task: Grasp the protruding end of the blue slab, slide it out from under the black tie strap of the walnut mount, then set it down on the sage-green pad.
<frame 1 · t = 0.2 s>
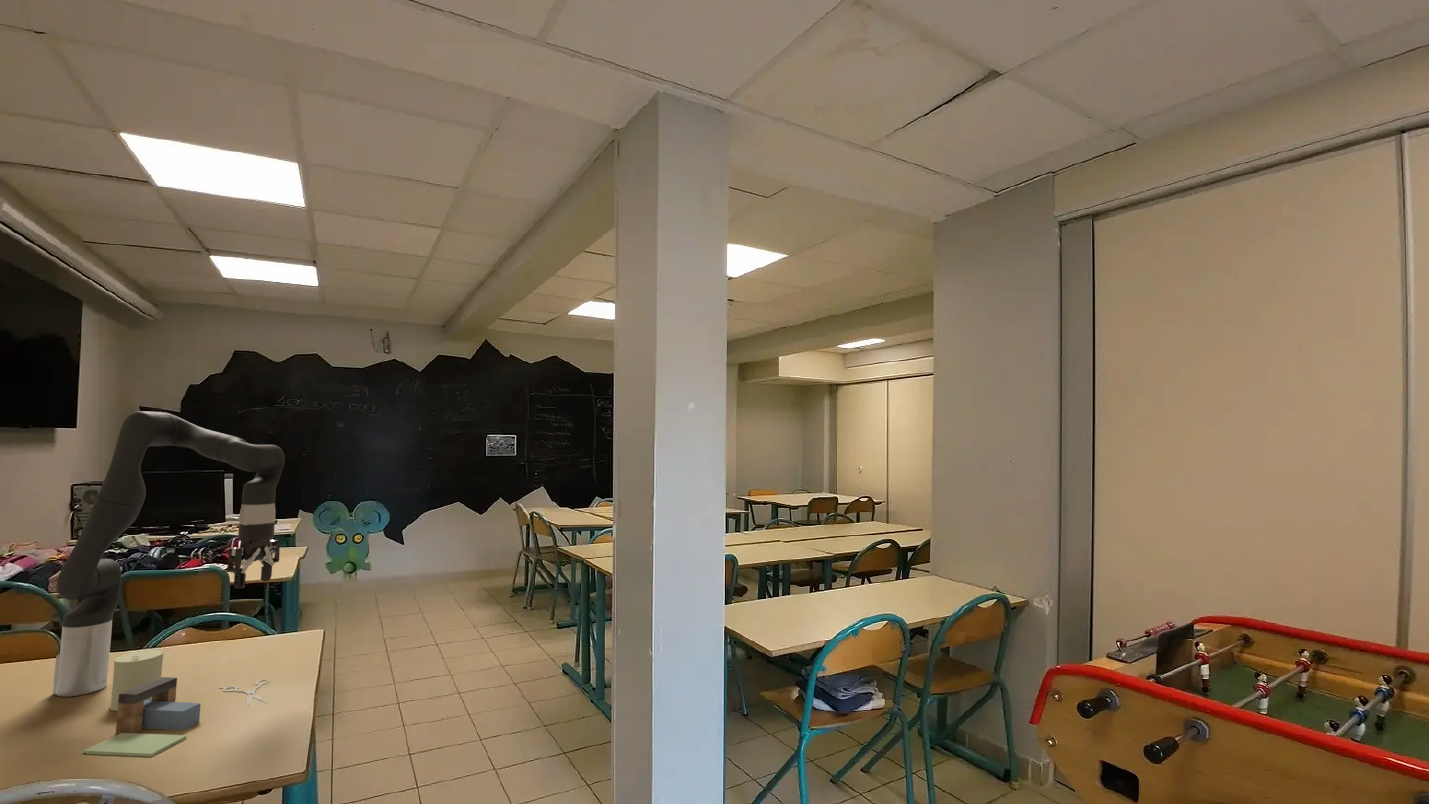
hand: (252, 584, 159), 29 cm above the table, tool pointing down, fingers open, 8 cm apart
scissors: (249, 696, 159), on the table
pad: (136, 745, 132), on the table
tie mount: (146, 723, 142), on the table
blue slab: (162, 725, 142), on the table
can: (135, 704, 153), on the table
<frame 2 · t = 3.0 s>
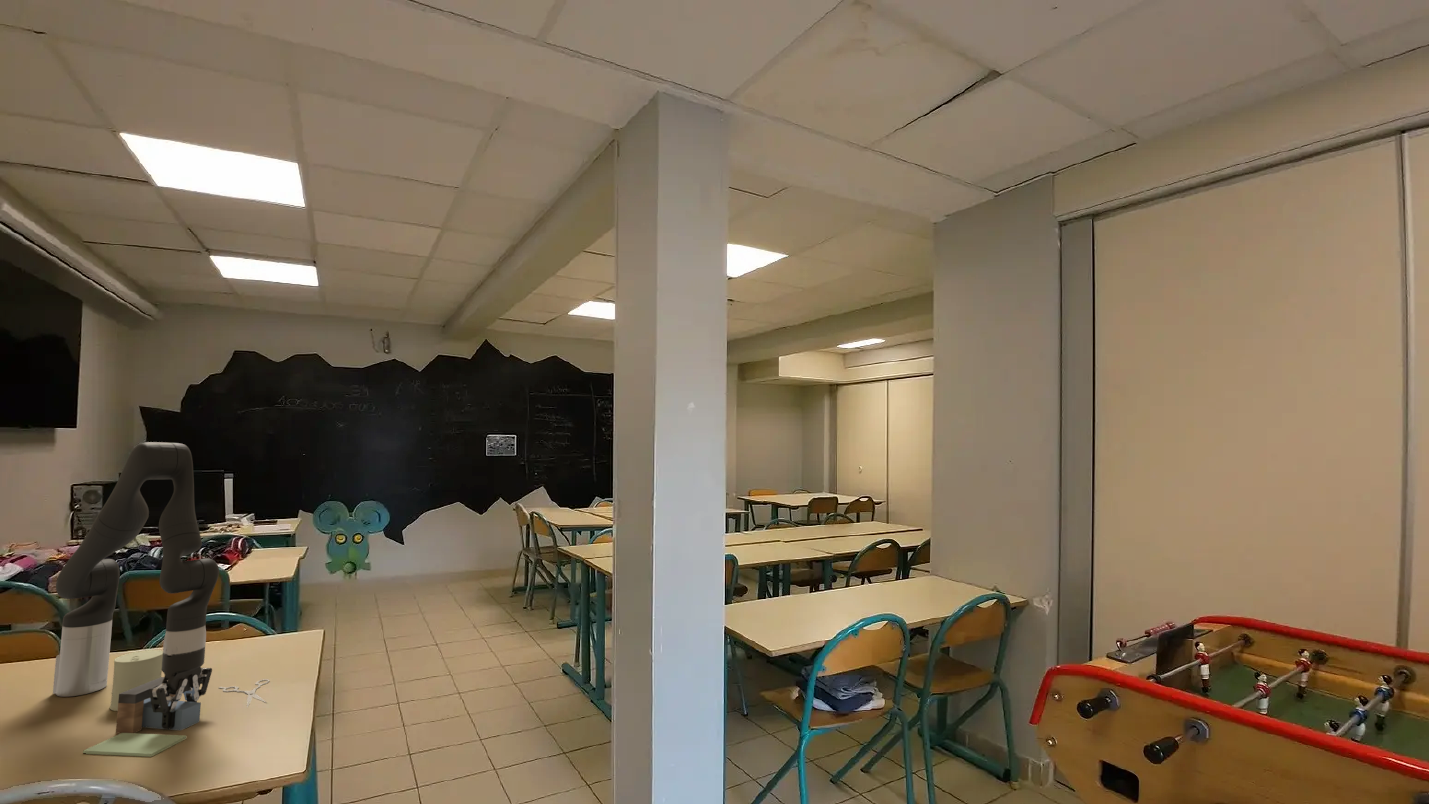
hand: (178, 722, 141), 0 cm above the table, tool pointing down, fingers closed on blue slab, 4 cm apart
blue slab: (163, 723, 142), on the table, touching gripper
everything else where it was.
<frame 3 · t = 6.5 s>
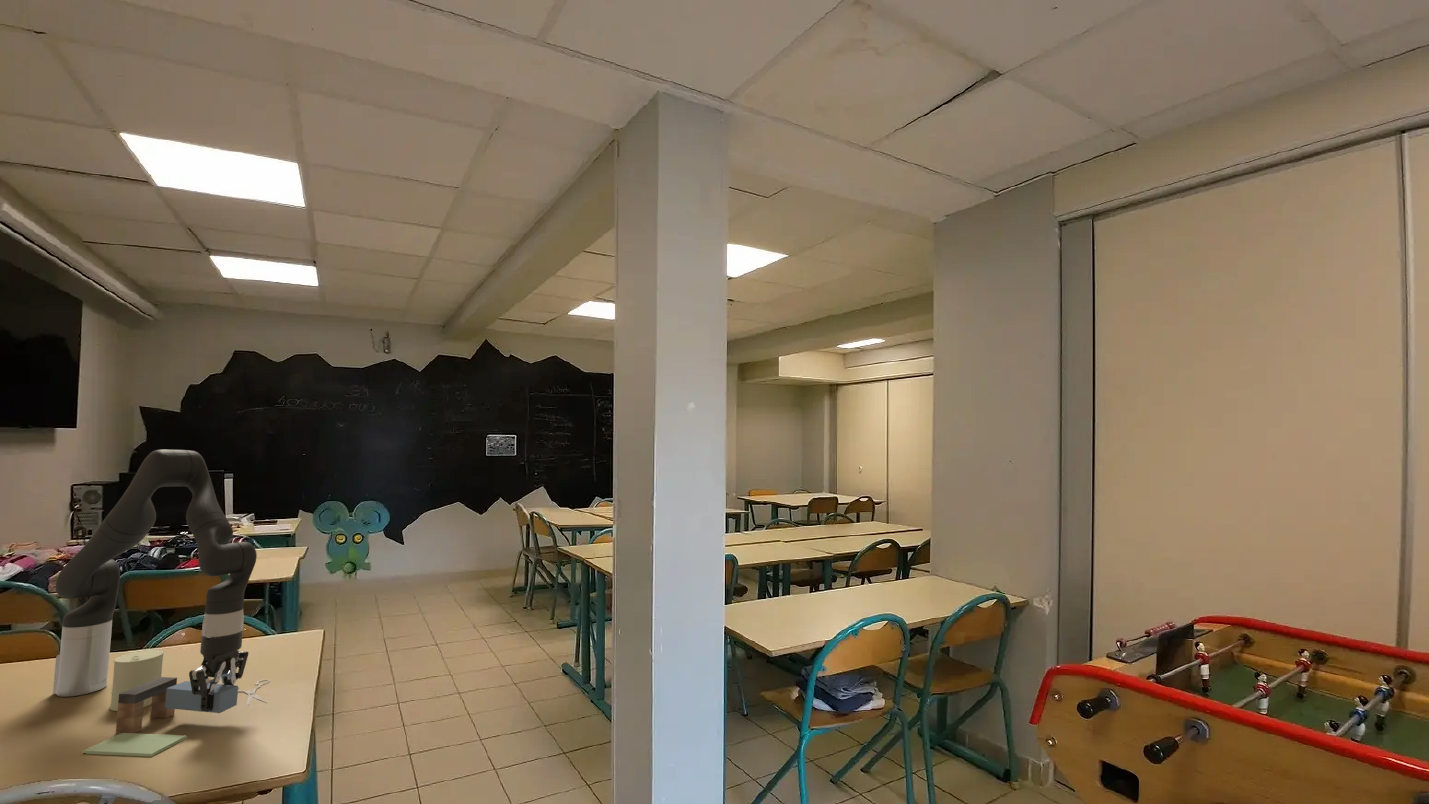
hand: (216, 705, 141), 5 cm above the table, tool pointing down, fingers closed on blue slab, 4 cm apart
blue slab: (201, 706, 142), point 4 cm above the table, touching gripper
everything else where it was.
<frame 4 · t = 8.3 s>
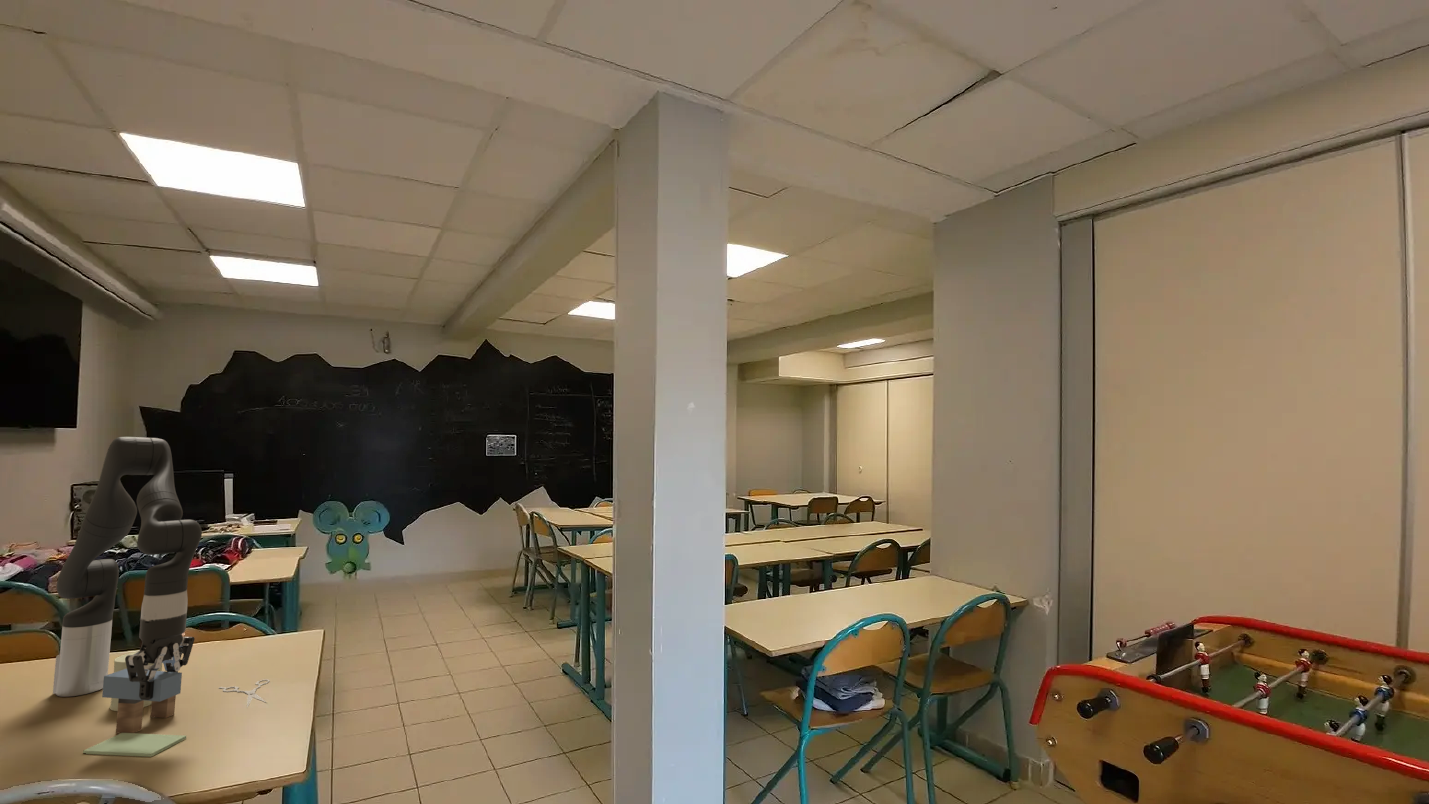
hand: (158, 693, 132), 11 cm above the table, tool pointing down, fingers closed on blue slab, 4 cm apart
blue slab: (141, 695, 133), point 10 cm above the table, touching gripper
everything else where it was.
when the fingers open (2 cm above the table, at t = 9.9 s): blue slab drops 1 cm, resting on pad.
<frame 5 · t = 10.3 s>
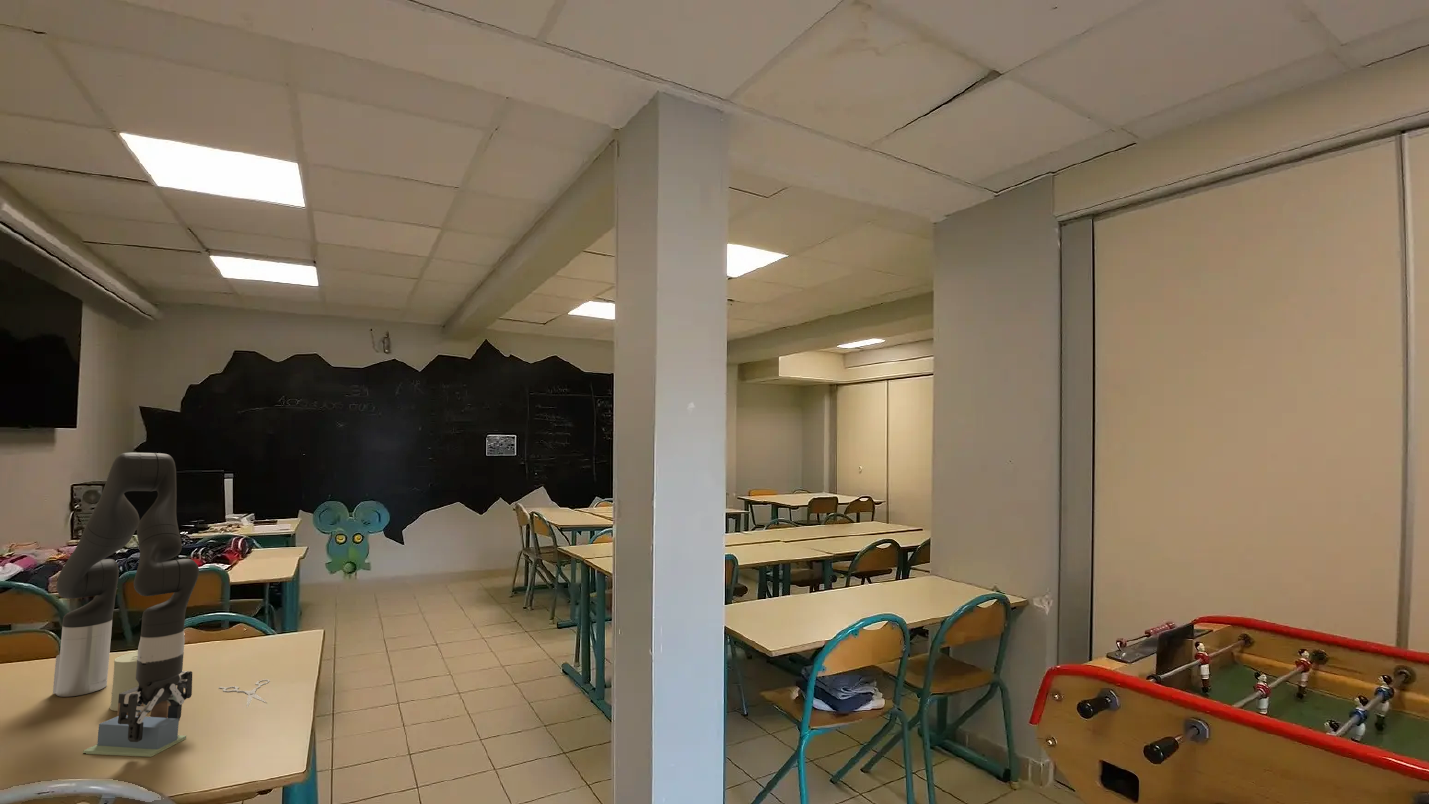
hand: (154, 731, 132), 3 cm above the table, tool pointing down, fingers open, 8 cm apart
blue slab: (137, 742, 132), point 1 cm above the table, touching pad
everything else where it was.
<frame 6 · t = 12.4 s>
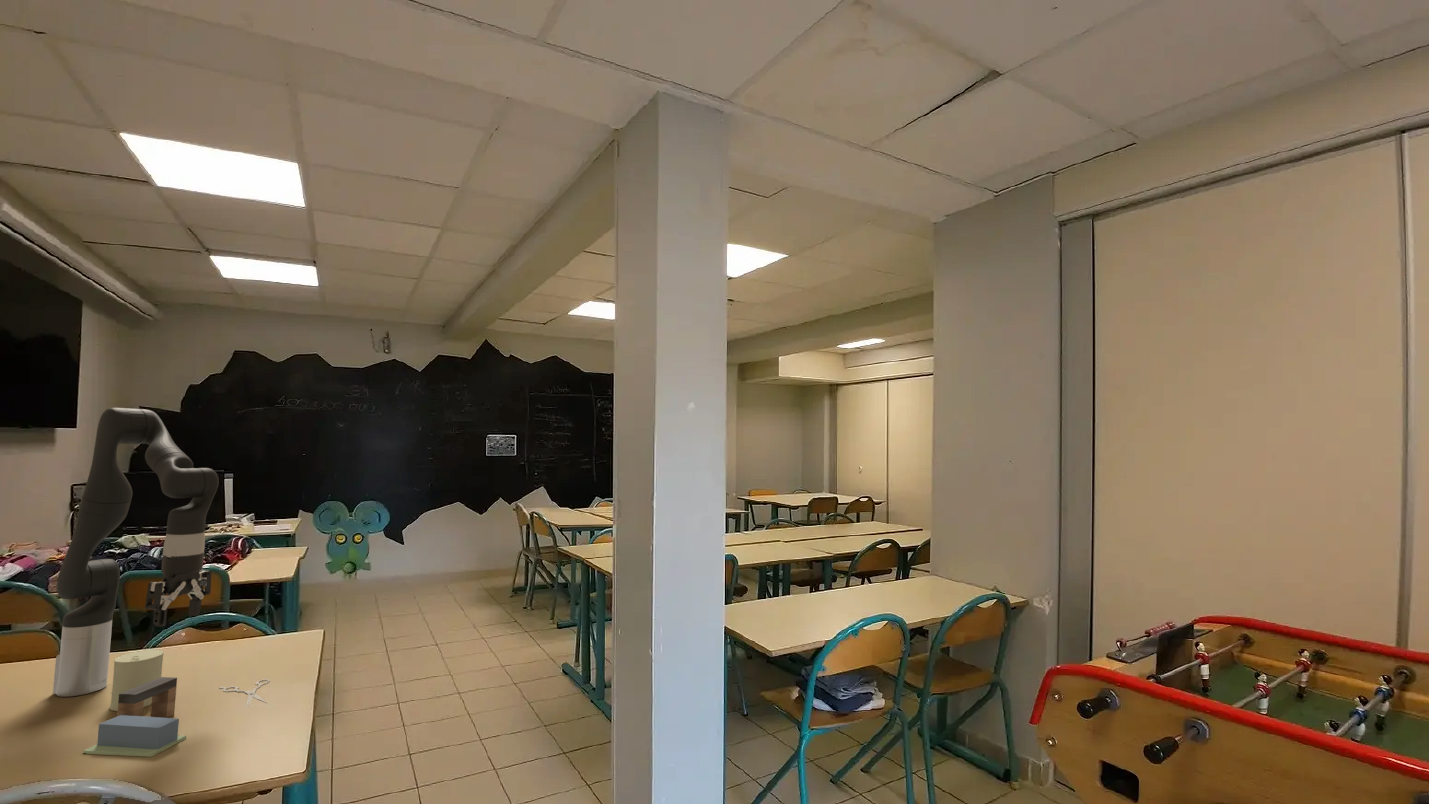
hand: (177, 620, 146), 23 cm above the table, tool pointing down, fingers open, 8 cm apart
nothing on the table moved.
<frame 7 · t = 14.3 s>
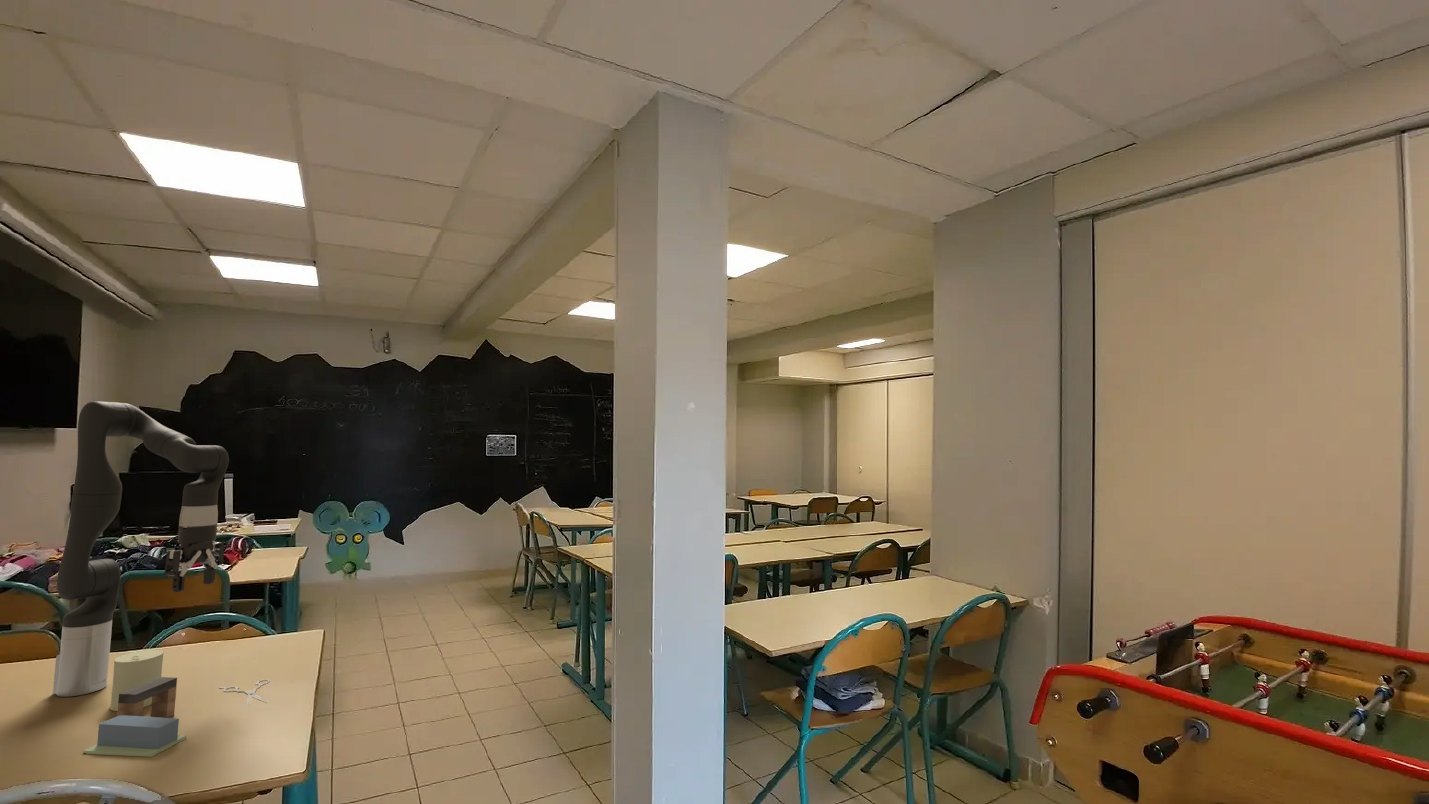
hand: (193, 587, 156), 28 cm above the table, tool pointing down, fingers open, 8 cm apart
nothing on the table moved.
at the end: blue slab inside the target area on the pad (0.2 cm from its centre), point 0.6 cm above the pad's base; blue slab touching pad; the gripper is holding nothing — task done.
